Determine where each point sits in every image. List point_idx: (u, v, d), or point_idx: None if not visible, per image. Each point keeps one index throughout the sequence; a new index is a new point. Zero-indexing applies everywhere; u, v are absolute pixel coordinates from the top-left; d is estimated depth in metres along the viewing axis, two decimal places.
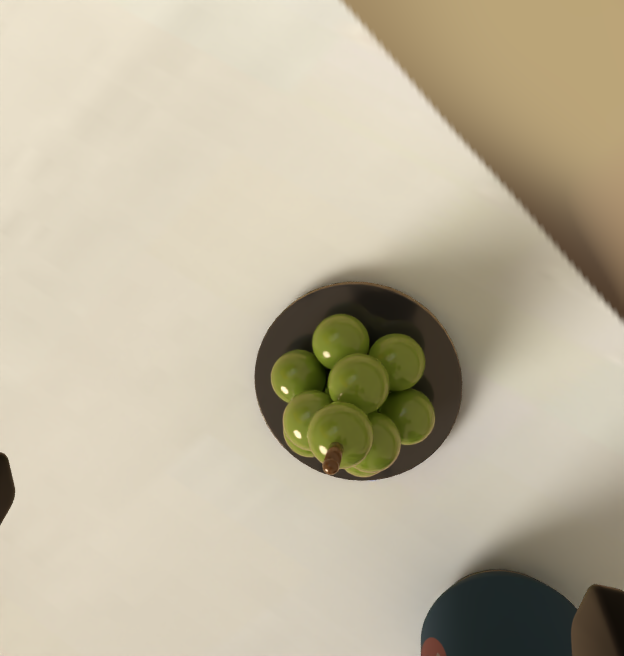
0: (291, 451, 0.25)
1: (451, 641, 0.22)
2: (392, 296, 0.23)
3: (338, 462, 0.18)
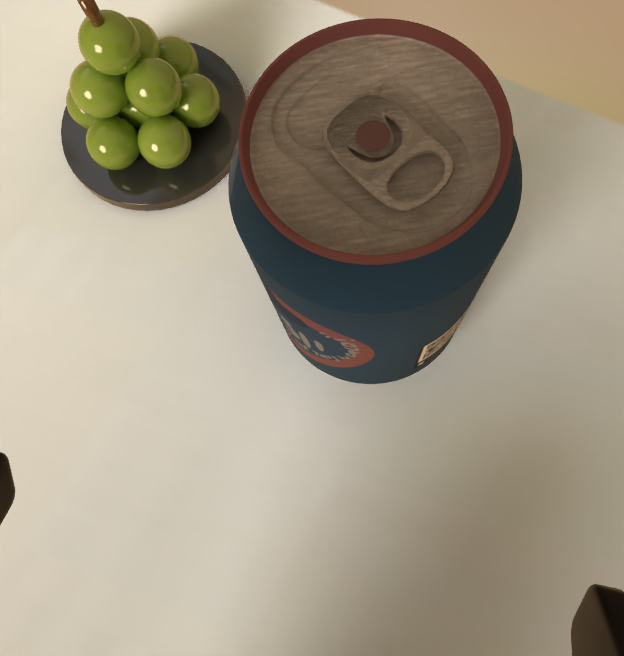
0: (107, 195, 0.26)
1: None
2: None
3: None
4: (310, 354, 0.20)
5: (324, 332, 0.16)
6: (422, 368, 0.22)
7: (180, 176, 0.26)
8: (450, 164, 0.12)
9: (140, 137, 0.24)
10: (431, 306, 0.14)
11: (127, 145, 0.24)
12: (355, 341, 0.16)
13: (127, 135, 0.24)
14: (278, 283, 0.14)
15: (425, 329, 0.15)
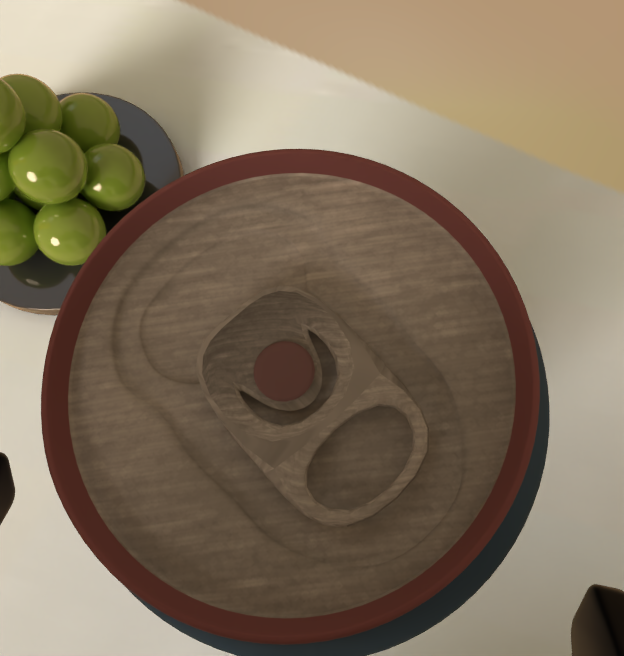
0: (0, 296, 0.20)
1: None
2: None
3: None
4: None
5: None
6: None
7: None
8: (423, 436, 0.07)
9: (35, 229, 0.18)
10: None
11: (19, 238, 0.19)
12: None
13: (19, 225, 0.19)
14: (133, 593, 0.08)
15: None
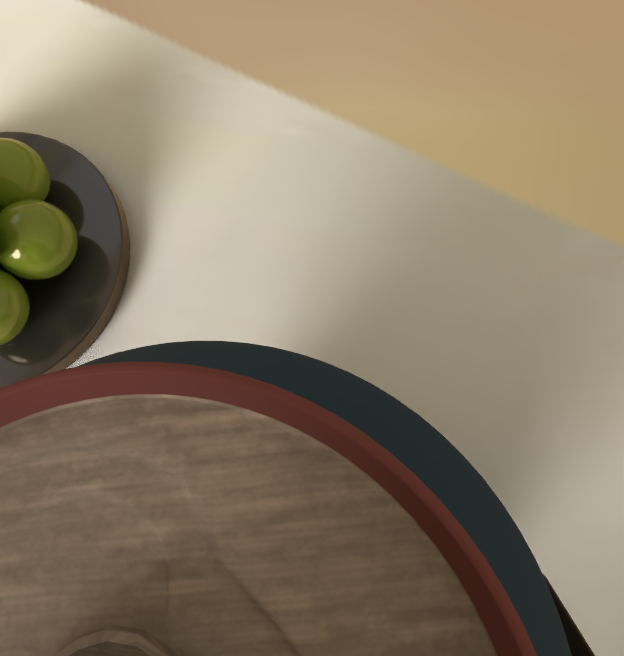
0: None
1: None
2: (10, 136, 0.19)
3: None
4: None
5: None
6: None
7: (17, 352, 0.17)
8: None
9: None
10: None
11: None
12: None
13: None
14: None
15: None
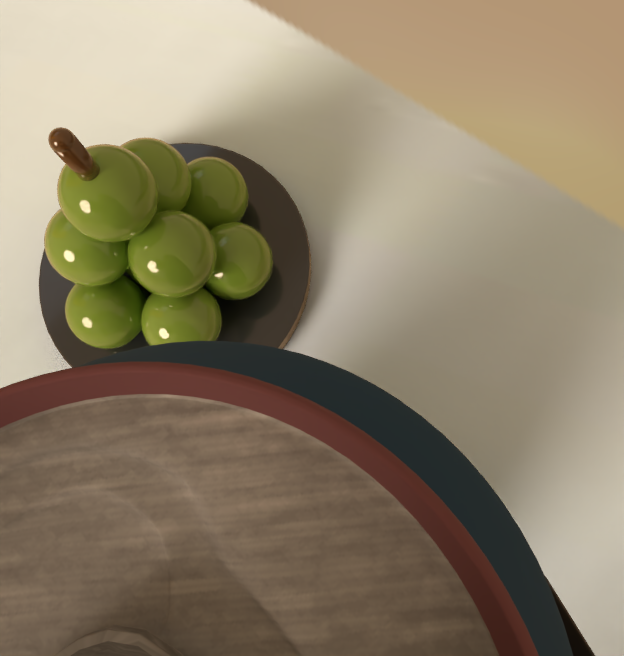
0: None
1: None
2: (204, 149, 0.19)
3: None
4: None
5: None
6: None
7: None
8: None
9: (144, 319, 0.16)
10: None
11: (124, 324, 0.16)
12: None
13: (126, 310, 0.16)
14: None
15: None
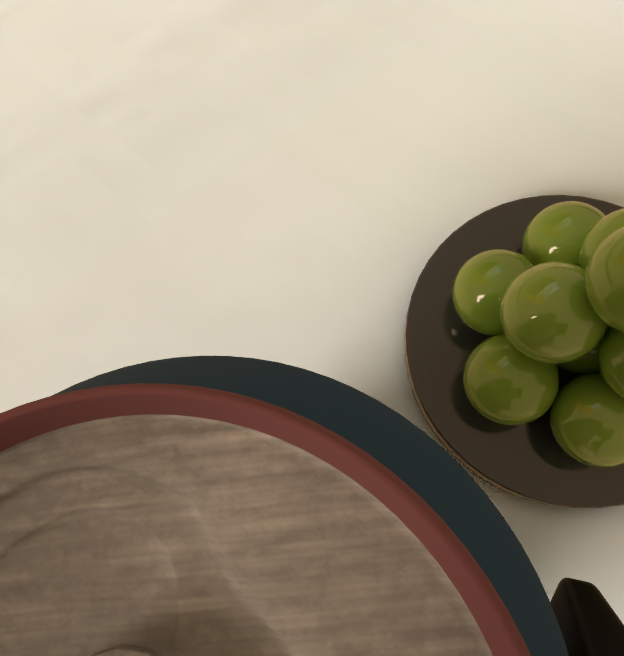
0: (453, 442, 0.15)
1: None
2: None
3: None
4: None
5: None
6: None
7: (586, 469, 0.15)
8: None
9: (576, 412, 0.13)
10: None
11: (542, 407, 0.14)
12: None
13: (552, 393, 0.14)
14: None
15: None
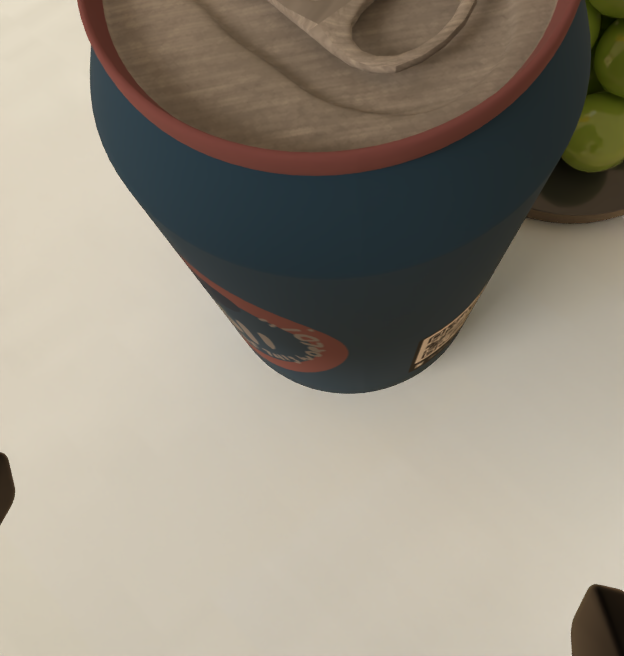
0: None
1: None
2: None
3: None
4: (263, 354, 0.14)
5: (265, 318, 0.10)
6: (421, 371, 0.16)
7: (585, 186, 0.18)
8: None
9: None
10: (437, 265, 0.08)
11: None
12: (315, 332, 0.10)
13: None
14: (168, 229, 0.08)
15: (426, 311, 0.10)
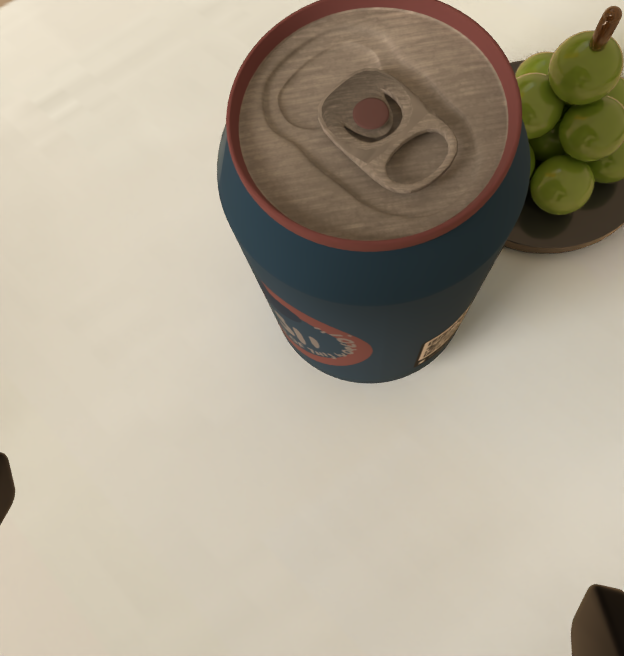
0: None
1: None
2: None
3: (620, 13, 0.17)
4: (305, 352, 0.19)
5: (319, 327, 0.15)
6: None
7: (554, 224, 0.23)
8: (454, 143, 0.11)
9: (545, 173, 0.21)
10: (433, 298, 0.13)
11: None
12: (352, 337, 0.15)
13: (531, 163, 0.21)
14: (269, 273, 0.13)
15: (426, 324, 0.15)
